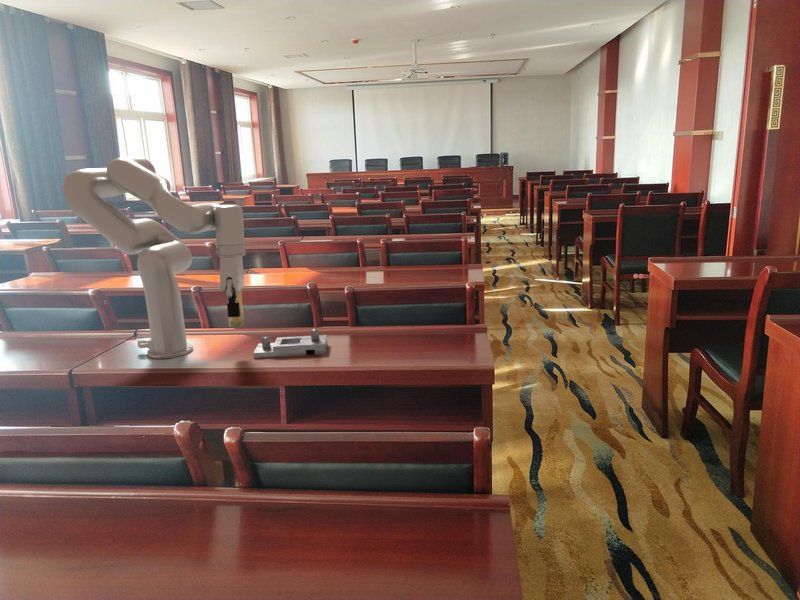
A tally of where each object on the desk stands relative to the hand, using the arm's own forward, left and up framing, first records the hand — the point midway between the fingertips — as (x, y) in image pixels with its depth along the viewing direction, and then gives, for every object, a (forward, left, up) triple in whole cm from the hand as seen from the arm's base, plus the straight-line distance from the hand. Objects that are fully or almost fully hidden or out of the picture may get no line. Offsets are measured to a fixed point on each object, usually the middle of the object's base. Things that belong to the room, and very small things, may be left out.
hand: (235, 313), depth 170 cm
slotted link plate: (+12, 0, -12) cm, 17 cm away
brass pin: (0, 0, -3) cm, 3 cm away
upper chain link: (+18, 0, -12) cm, 21 cm away
